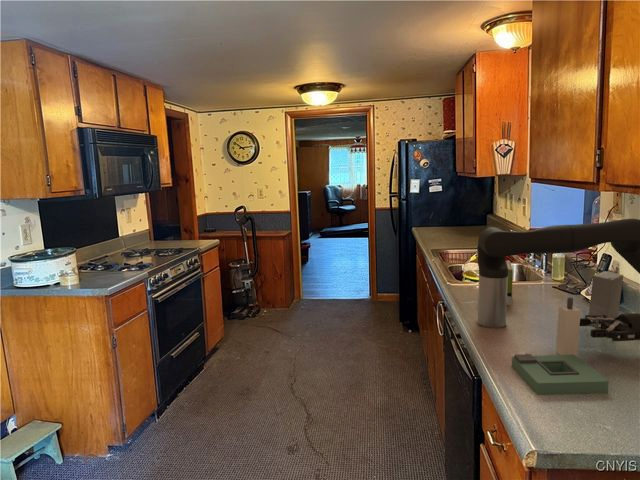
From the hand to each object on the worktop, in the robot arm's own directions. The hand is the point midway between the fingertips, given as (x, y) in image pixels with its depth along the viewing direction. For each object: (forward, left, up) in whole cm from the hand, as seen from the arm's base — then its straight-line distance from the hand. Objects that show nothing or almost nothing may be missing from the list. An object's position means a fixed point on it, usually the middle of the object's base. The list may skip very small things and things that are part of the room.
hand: (582, 327), depth 128 cm
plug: (0, -4, -8) cm, 9 cm away
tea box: (-52, -4, -8) cm, 53 cm away
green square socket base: (+14, -14, -8) cm, 21 cm away
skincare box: (-28, +24, -8) cm, 38 cm away
